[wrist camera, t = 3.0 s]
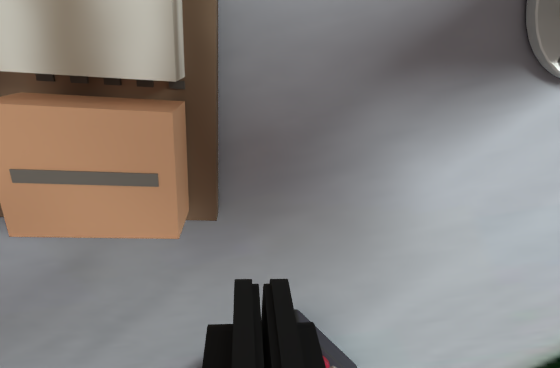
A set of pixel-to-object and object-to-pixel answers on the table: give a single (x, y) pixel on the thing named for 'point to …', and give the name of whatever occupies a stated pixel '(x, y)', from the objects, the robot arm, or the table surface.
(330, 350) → the red black flat box
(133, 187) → the tan box with slot
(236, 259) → the table surface
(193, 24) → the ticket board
